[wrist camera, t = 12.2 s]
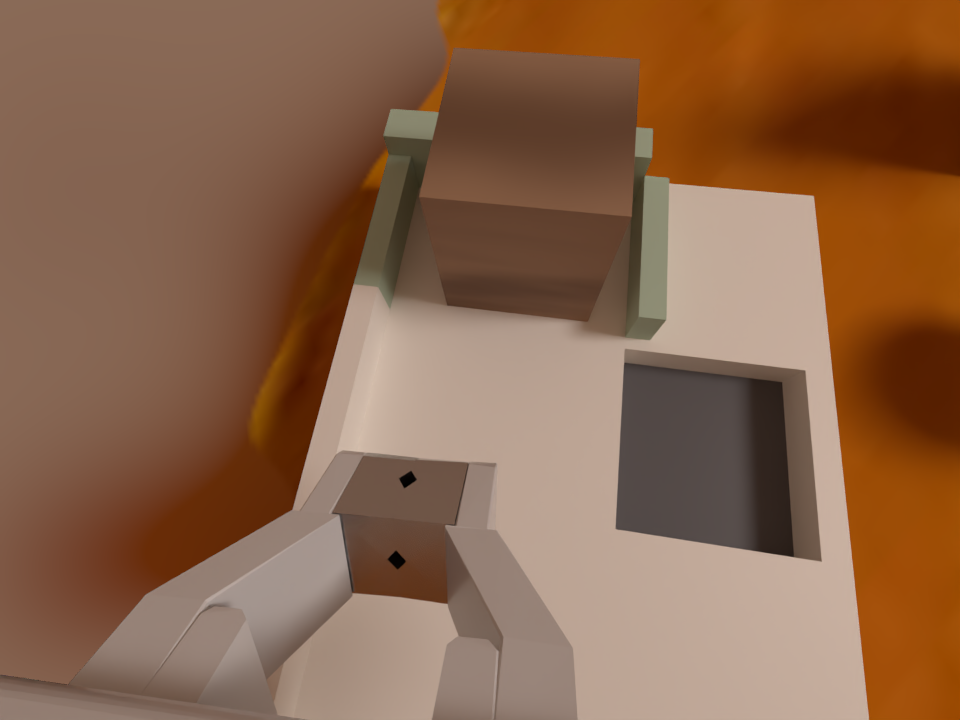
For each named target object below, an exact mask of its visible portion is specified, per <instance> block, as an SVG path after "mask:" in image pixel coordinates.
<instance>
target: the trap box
mask: <svg viewBox="0 0 960 720" xmlns="http://www.w3.org/2000/svg"><path fill="white" fill-rule="evenodd" d="M438 114H439V112H426V111H412V110H399V109H391V111H390V114H389V118H388V121H387V125H386V128H385V132H384V140H385V143H386V146H387V149H388V153H389V156H388V159H387V163H386V167H385V170H384V174H383V178H382V182H381V185H380V189H379V193H378V196H377V200H376V204H375V207H374V211H373V215H372V218H371V222H370V226H369V229H368V233H367V237H366V240H365V244H364V248H363V252H362V255H361V259H360V263H359V266H358V270H357V274H356V277H355V281H354V285H353V288H352V292H351V296H350V299H349V303H348V307H347V310H346V314H345V318H344V322H343V325H342V329H341V333H340V336H339V340H338V344H337V347H336V351H335V355H334V358H333V362H332V366H331V369H330V373H329V377H328V380H327V384H326V388H325V392H324V395H323V399H322V403H321V406H320V410H319V414H318V417H317V421H316V425H315V428H314V432H313V436H312V439H311V443H310V447H309V450H308V454H307V458H306V462H305V465H304V469H303V473H302V476H301V480H300V484H299V487H298V491H297V495H296V498H295V502H294V506H293V509H292V510H297V511H300V510H301V508H302V507H303V505H304V504H305V502H306V500H307V499H308V497H309V496H310V494H311V493H312V491H313V490H314V488H315V487H316V485H317V483H318V482H319V480H320V479H321V477H322V476H323V474H324V473H325V471H326V470H327V468H328V466H329V465H330V463H331V462H332V460H333V459H334V457H335V456H336V454H337V453H339V452H341V451H342V450H346V451H356V452H365V453H368V452H369V453H378V454H387V455H397V456H406V457H415V458H424V459H436V460H449V461H462V462H471V461H472V462H489V463H496V464H497V467H498V475H497V501H496V522H495V530H497V531H498V532H499V534H500V535H501V537H502V538H503V540H504V542H505V543H506V545H507V546H508V548H509V549H510V551H511V552H512V554H513V556H514V557H515V559H516V560H517V562H518V563H519V565H520V566H521V568H522V570H523V571H524V573H525V574H526V576H527V577H528V579H529V580H530V582H531V584H532V585H533V587H534V588H535V590H536V591H537V593H538V594H539V596H540V598H541V599H542V601H543V602H544V604H545V605H546V607H547V608H548V610H549V612H550V613H551V615H552V616H553V618H554V619H555V621H556V622H557V624H558V626H559V627H560V629H561V630H562V632H563V633H564V635H565V636H566V638H567V640H568V641H569V643H570V644H571V646H572V647H573V655H574V671H575V686H576V702H577V717H578V720H869V716H868V706H867V697H866V687H865V678H864V668H863V659H862V649H861V640H860V630H859V621H858V611H857V602H856V592H855V583H854V573H853V564H852V554H851V545H850V535H849V526H848V517H847V507H846V498H845V488H844V479H843V469H842V460H841V450H840V441H839V431H838V422H837V412H836V403H835V393H834V384H833V374H832V365H831V355H830V346H829V336H828V327H827V317H826V308H825V298H824V289H823V279H822V270H821V260H820V251H819V241H818V232H817V222H816V213H815V203H814V196H807V195H795V194H783V193H772V192H760V191H749V190H737V189H726V188H714V187H702V186H691V185H679V184H669V178H664V177H652V176H645V174H646V171H647V169H648V166H649V164H650V161H651V159H652V142H653V129H650V128H637V127H636V144H635V163H634V183H633V203H632V218H631V220H630V222H629V225H628V227H627V229H626V232H625V234H624V237H623V239H622V241H621V244H620V246H619V248H618V251H617V253H616V256H615V258H614V260H613V263H612V265H611V267H610V270H609V272H608V275H607V277H606V279H605V282H604V284H603V287H602V289H601V291H600V294H599V296H598V298H597V301H596V303H595V306H594V308H593V310H592V313H591V315H590V317H589V320H588V322H585V321H576V320H568V319H559V318H550V317H542V316H533V315H525V314H516V313H507V312H499V311H490V310H481V309H473V308H464V307H456V306H447V303H446V299H445V295H444V291H443V288H442V284H441V280H440V276H439V272H438V268H437V265H436V261H435V257H434V253H433V249H432V245H431V241H430V238H429V234H428V230H427V226H426V222H425V218H424V214H423V211H422V207H421V203H420V199H419V195H420V190H421V186H422V182H423V178H424V173H425V169H426V165H427V161H428V156H429V152H430V148H431V144H432V139H433V135H434V131H435V127H436V122H437V118H438ZM352 595H353V596H352V597H351V598H350V599H349V600H348V601H347V602H346V603H345V604H344V605H343V606H342V607H341V608H340V609H339V610H338V611H337V612H336V613H335V614H334V615H333V616H332V617H331V618H330V619H329V620H327V621H326V622H325V623H324V624H323V625H322V626H321V627H320V628H319V629H318V630H317V631H316V632H315V633H314V634H313V635H312V636H311V637H310V638H309V639H308V640H307V641H306V642H305V643H304V644H303V645H302V646H301V647H300V648H299V649H298V650H297V651H295V652H294V653H293V654H292V655H291V656H290V657H289V658H288V659H287V660H286V661H285V662H284V663H283V664H282V665H281V666H280V667H279V668H278V669H277V670H276V671H275V672H274V673H273V674H272V675H271V676H270V677H269V678H268V679H267V684H268V687H269V690H270V693H271V696H272V699H273V702H274V705H275V708H276V711H277V715H279V716H286V717H293V718H300V719H307V720H432V716H433V711H434V706H435V701H436V696H437V691H438V686H439V681H440V676H441V671H442V666H443V661H444V656H445V651H446V646H447V644H448V643H449V642H451V641H452V640H453V639H454V638H456V637H457V636H458V633H457V630H456V628H455V625H454V622H453V619H452V617H451V614H450V611H449V609H448V604H443V603H436V602H430V601H423V600H416V599H409V598H402V597H392V596H380V595H369V594H357V593H352Z"/></svg>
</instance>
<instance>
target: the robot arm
mask: <svg viewBox="0 0 960 720" xmlns="http://www.w3.org/2000/svg"><path fill="white" fill-rule="evenodd" d="M497 475H498V467H497V464H496V463H489V462H472V461H471V462H462V461H449V460H436V459H424V458H415V457H406V456H397V455H387V454H378V453H369V452H368V453H365V452H356V451H346V450H342V451H341V452H339V453H337V454H336V456H335V457H334V459H333V460H332V462H331V463H330V465H329V466H328V468H327V470H326V471H325V473H324V474H323V476H322V477H321V479H320V480H319V482H318V483H317V485H316V487H315V488H314V490H313V491H312V493H311V494H310V496H309V497H308V499H307V500H306V502H305V504H304V505H303V507H302V508H301V510H300V511H297V510H291V511H289V512H288V513H286V514H284V515H282V516H281V517H279V518H277V519H276V520H274V521H272V522H270V523H269V524H267V525H265V526H264V527H262V528H260V529H258V530H257V531H255V532H253V533H251V534H250V535H248V536H246V537H244V538H243V539H241V540H239V541H238V542H236V543H234V544H232V545H231V546H229V547H227V548H225V549H224V550H222V551H220V552H219V553H217V554H215V555H213V556H212V557H210V558H208V559H206V560H205V561H203V562H201V563H199V564H198V565H196V566H194V567H193V568H191V569H189V570H187V571H186V572H184V573H182V574H180V575H179V576H177V577H176V578H174V579H172V580H170V581H168V582H167V583H165V584H163V585H161V586H160V587H158V588H156V589H155V590H153V591H151V592H149V593H148V594H146V595H145V596H144V597H143V598H142V600H141V601H140V602H139V603H138V604H137V605H136V606H135V608H134V609H133V610H132V611H131V612H130V613H129V615H128V616H127V617H126V618H125V619H124V620H123V622H122V623H121V624H120V625H119V626H118V627H117V628H116V630H115V631H114V632H113V633H112V634H111V636H109V638H108V639H107V640H106V641H105V642H104V643H103V645H102V646H101V647H100V648H99V649H98V650H97V652H96V653H95V654H94V655H93V656H92V657H91V659H90V660H89V661H88V662H87V663H86V664H85V665H84V667H83V668H82V669H81V670H80V671H79V672H78V674H77V675H76V676H75V677H74V678H73V679H72V680H71V682H70V683H69V684H68V685H67V684H60V683H53V682H46V681H39V680H32V679H25V678H18V677H11V676H5V675H0V720H307V719H300V718H293V717H286V716H279V715H277V711H276V708H275V705H274V702H273V699H272V696H271V693H270V690H269V687H268V684H267V679H268V678H269V677H270V676H271V675H272V674H273V673H274V672H275V671H276V670H277V669H278V668H279V667H280V666H281V665H282V664H283V663H284V662H285V661H286V660H287V659H288V658H289V657H290V656H291V655H292V654H293V653H294V652H295V651H297V650H298V649H299V648H300V647H301V646H302V645H303V644H304V643H305V642H306V641H307V640H308V639H309V638H310V637H311V636H312V635H313V634H314V633H315V632H316V631H317V630H318V629H319V628H320V627H321V626H322V625H323V624H324V623H325V622H326V621H327V620H329V619H330V618H331V617H332V616H333V615H334V614H335V613H336V612H337V611H338V610H339V609H340V608H341V607H342V606H343V605H344V604H345V603H346V602H347V601H348V600H349V599H350V598H351V597H352V596H353V595H352V593H357V594H369V595H380V596H392V597H402V598H409V599H416V600H423V601H430V602H436V603H443V604H448V609H449V611H450V614H451V617H452V619H453V622H454V625H455V628H456V630H457V633H458V636H457V637H456V638H454V639H453V640H452V641H451V642H449V643H448V644H447V646H446V651H445V656H444V661H443V666H442V671H441V676H440V681H439V686H438V691H437V696H436V701H435V706H434V711H433V716H432V720H578V717H577V702H576V686H575V671H574V655H573V647H572V646H571V644H570V643H569V641H568V640H567V638H566V636H565V635H564V633H563V632H562V630H561V629H560V627H559V626H558V624H557V622H556V621H555V619H554V618H553V616H552V615H551V613H550V612H549V610H548V608H547V607H546V605H545V604H544V602H543V601H542V599H541V598H540V596H539V594H538V593H537V591H536V590H535V588H534V587H533V585H532V584H531V582H530V580H529V579H528V577H527V576H526V574H525V573H524V571H523V570H522V568H521V566H520V565H519V563H518V562H517V560H516V559H515V557H514V556H513V554H512V552H511V551H510V549H509V548H508V546H507V545H506V543H505V542H504V540H503V538H502V537H501V535H500V534H499V532H498V531H497V530H495V522H496V501H497Z"/></svg>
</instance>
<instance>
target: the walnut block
mask: <svg viewBox="0 0 960 720" xmlns="http://www.w3.org/2000/svg"><path fill="white" fill-rule="evenodd" d="M639 64H640V59H628V58H611V57H595V56H579V55H562V54H546V53H530V52H514V51H497V50H481V49H465V48H454V50H453V54H452V58H451V63H450V67H449V71H448V75H447V80H446V84H445V88H444V92H443V97H442V101H441V105H440V109H439V114H438V118H437V122H436V127H435V131H434V135H433V139H432V144H431V148H430V152H429V156H428V161H427V165H426V169H425V173H424V178H423V182H422V186H421V190H420V195H419V199H420V203H421V207H422V211H423V214H424V218H425V222H426V226H427V230H428V234H429V238H430V241H431V245H432V249H433V253H434V257H435V261H436V265H437V268H438V272H439V276H440V280H441V284H442V288H443V291H444V295H445V299H446V303H447V306H456V307H464V308H473V309H481V310H490V311H499V312H507V313H516V314H525V315H533V316H542V317H550V318H559V319H568V320H576V321H585V322H588V320H589V317H590V315H591V313H592V310H593V308H594V306H595V303H596V301H597V298H598V296H599V294H600V291H601V289H602V287H603V284H604V282H605V279H606V277H607V275H608V272H609V270H610V267H611V265H612V263H613V260H614V258H615V256H616V253H617V251H618V248H619V246H620V244H621V241H622V239H623V237H624V234H625V232H626V229H627V227H628V225H629V222H630V220H631V218H632V203H633V183H634V163H635V144H636V124H637V104H638V84H639Z"/></svg>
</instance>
